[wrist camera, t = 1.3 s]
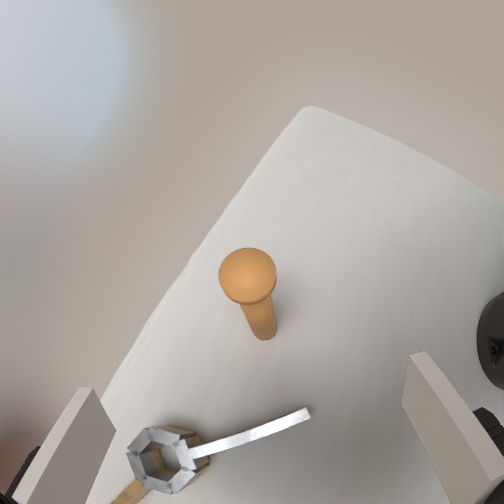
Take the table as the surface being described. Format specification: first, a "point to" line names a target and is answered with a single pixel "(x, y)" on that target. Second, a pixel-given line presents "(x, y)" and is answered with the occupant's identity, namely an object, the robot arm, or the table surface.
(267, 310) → the hinge pin
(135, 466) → the hinge leaf
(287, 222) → the table surface
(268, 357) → the table surface
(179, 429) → the hinge leaf
